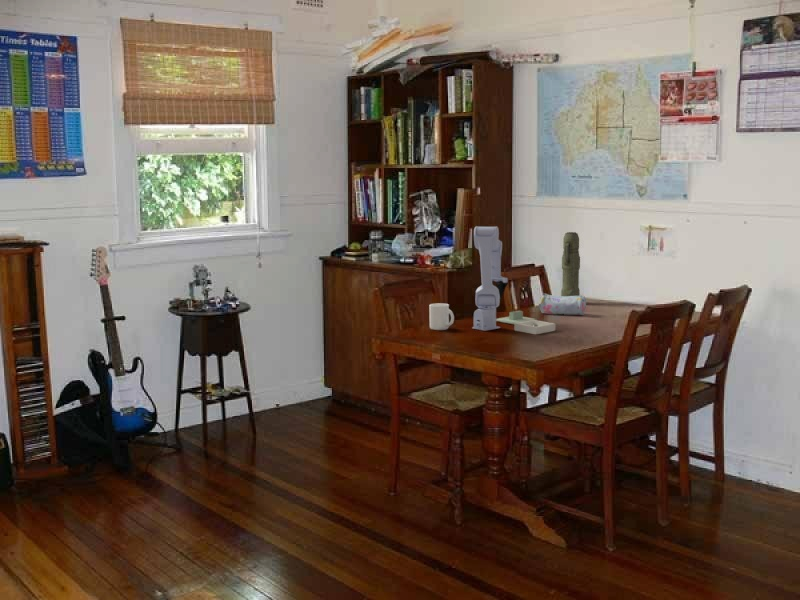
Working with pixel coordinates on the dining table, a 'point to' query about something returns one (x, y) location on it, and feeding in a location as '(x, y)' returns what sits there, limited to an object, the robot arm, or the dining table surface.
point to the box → (534, 327)
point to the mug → (440, 316)
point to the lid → (514, 318)
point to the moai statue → (570, 265)
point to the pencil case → (562, 304)
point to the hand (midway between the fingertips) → (494, 297)
